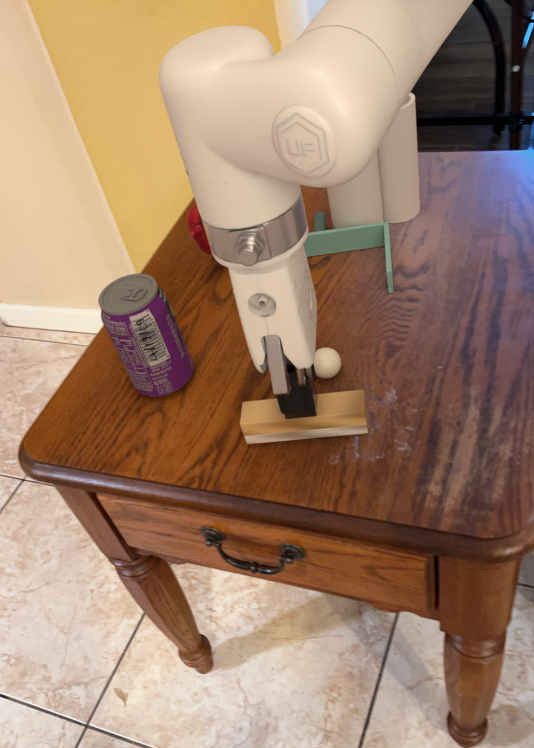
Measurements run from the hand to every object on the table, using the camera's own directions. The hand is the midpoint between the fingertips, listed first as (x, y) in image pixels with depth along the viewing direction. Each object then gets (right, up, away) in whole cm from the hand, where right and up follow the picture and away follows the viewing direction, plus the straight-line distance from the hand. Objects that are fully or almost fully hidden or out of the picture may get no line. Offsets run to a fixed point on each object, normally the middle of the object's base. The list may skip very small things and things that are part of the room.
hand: (299, 394), depth 66 cm
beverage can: (-14, +3, +14) cm, 20 cm away
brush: (+1, -3, +3) cm, 5 cm away
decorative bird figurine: (-8, +22, +27) cm, 36 cm away
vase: (+11, +25, +25) cm, 37 cm away
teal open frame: (+4, +19, +21) cm, 28 cm away
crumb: (+3, +4, +7) cm, 9 cm away
